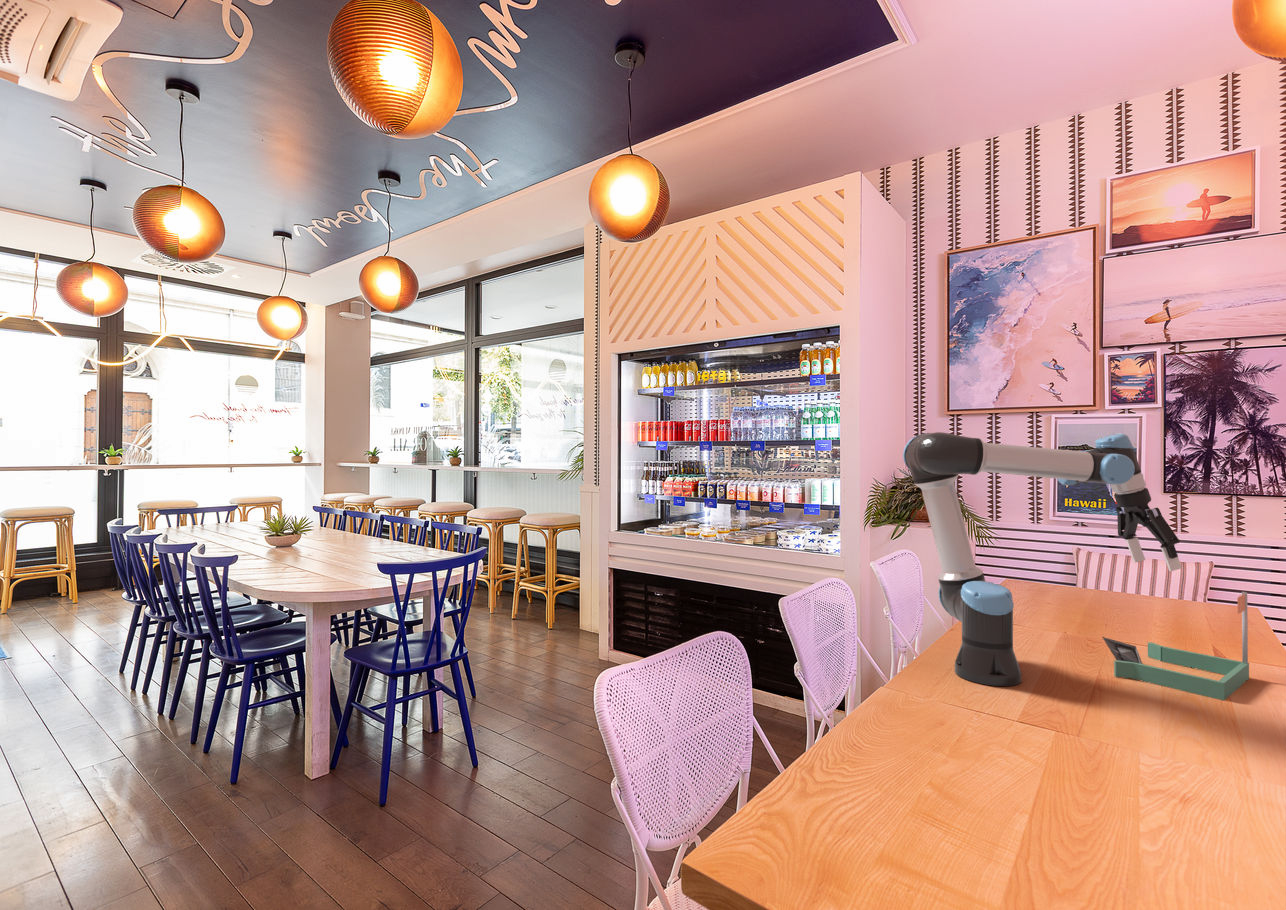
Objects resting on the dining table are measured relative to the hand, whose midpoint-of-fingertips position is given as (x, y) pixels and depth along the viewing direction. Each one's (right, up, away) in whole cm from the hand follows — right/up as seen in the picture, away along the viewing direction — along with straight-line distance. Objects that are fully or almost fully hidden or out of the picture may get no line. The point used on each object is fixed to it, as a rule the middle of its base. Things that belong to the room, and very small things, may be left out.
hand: (1156, 565), depth 167 cm
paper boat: (-8, -28, +2) cm, 29 cm away
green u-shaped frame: (0, -27, -8) cm, 28 cm away
